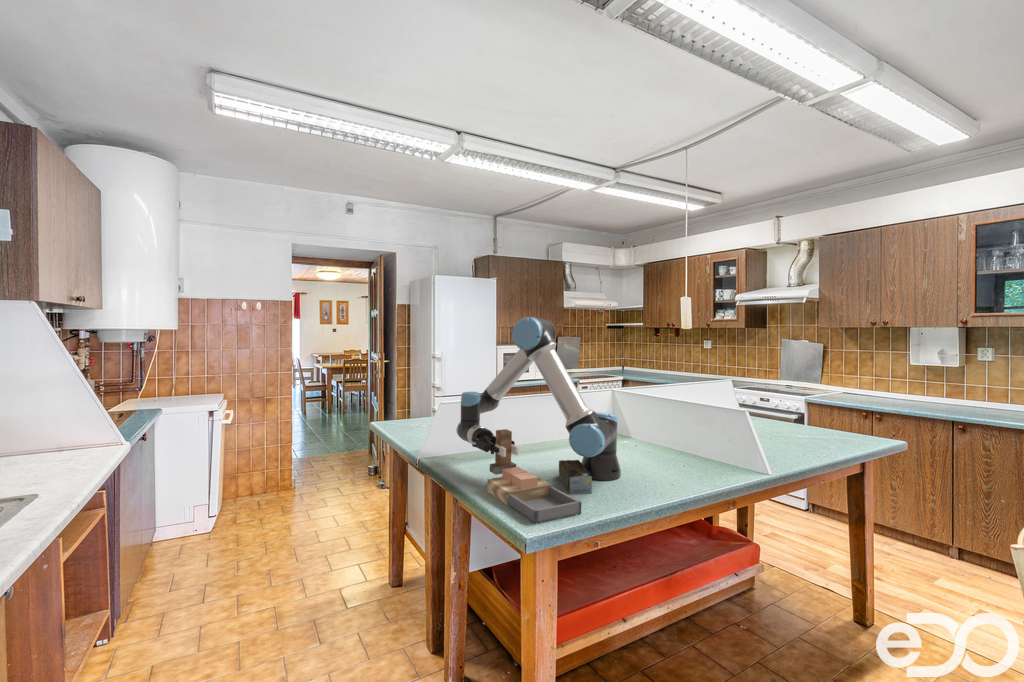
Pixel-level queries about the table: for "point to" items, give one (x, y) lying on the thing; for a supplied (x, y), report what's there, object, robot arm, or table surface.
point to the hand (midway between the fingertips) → (511, 451)
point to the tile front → (524, 480)
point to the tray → (546, 506)
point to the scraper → (505, 462)
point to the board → (517, 490)
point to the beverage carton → (575, 476)
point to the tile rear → (509, 471)
